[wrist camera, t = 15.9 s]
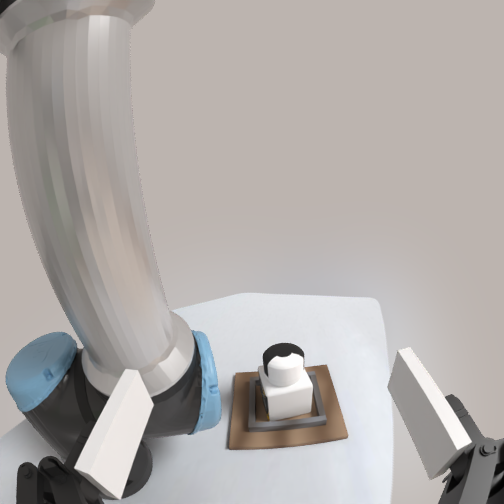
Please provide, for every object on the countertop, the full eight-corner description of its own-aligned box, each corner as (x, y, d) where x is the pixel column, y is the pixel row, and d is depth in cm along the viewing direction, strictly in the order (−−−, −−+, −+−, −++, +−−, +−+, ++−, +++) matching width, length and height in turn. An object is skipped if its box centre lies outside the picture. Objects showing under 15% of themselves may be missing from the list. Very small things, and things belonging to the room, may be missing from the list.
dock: (229, 449, 33) (227, 442, 32) (236, 375, 50) (234, 367, 49) (347, 438, 32) (349, 430, 31) (326, 367, 49) (327, 358, 48)
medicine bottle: (260, 393, 44) (254, 342, 40) (299, 385, 44) (299, 333, 41) (268, 423, 37) (263, 372, 33) (311, 413, 38) (315, 361, 34)
